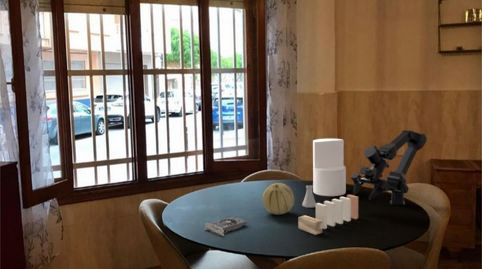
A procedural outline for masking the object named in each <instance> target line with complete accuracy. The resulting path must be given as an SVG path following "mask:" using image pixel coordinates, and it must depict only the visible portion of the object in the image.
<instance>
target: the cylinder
mask: <svg viewBox="0 0 482 269" xmlns="http://www.w3.org/2000/svg"><path fill="white" fill-rule="evenodd" d="M344 143H345V142H344V139H341V138H317V139H314V140H312V165H313V166H312V167H313V168H312V170H313V171H312V175H313V176H312V179H313V180H312V181H313V182H312V186H313V188H312V192H313V193H314V194H315V195H318V196H322V197H338V196H339V197H340V196H343V195H345V194H346V191H347V188H346V187H347V186H346V185H347V184H346V183H347V182H346V179H347V178H346V177H347V174H346V173H347V172H346V170H347V166H345V165H344V163H345V162H344V159H345V158H344V157H345V155H344Z"/></svg>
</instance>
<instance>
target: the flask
mask: <svg viewBox="0 0 482 269" xmlns="http://www.w3.org/2000/svg"><path fill="white" fill-rule="evenodd" d="M305 188H306V191H305V192H306V193H305V196H304V199H303V201H302V204H301V206H302V207H304V208H307V209H309V208H311V209H312V208H316V200H315V196H314V194H313V193H314V192H313V185H306V186H305Z"/></svg>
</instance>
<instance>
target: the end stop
mask: <svg viewBox="0 0 482 269" xmlns="http://www.w3.org/2000/svg"><path fill="white" fill-rule="evenodd" d="M297 220H298V229H299V230H302V231H304V232H307V233H310V234H312V235H315V236H316V235H318V234H319V235H320V234H322V233H323V228H322V221H321V220H318V219H316V217H315V218H314V217H311V216H308V215H302V216H298V219H297Z"/></svg>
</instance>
